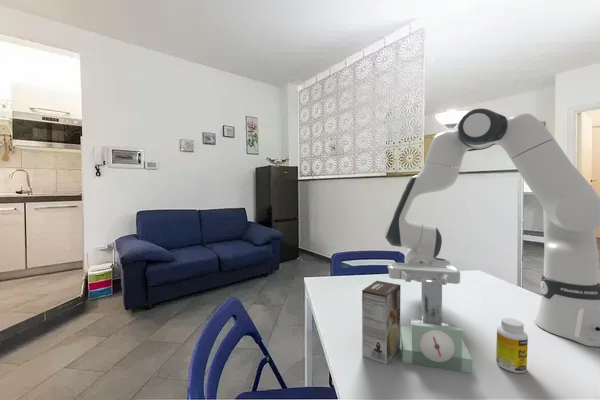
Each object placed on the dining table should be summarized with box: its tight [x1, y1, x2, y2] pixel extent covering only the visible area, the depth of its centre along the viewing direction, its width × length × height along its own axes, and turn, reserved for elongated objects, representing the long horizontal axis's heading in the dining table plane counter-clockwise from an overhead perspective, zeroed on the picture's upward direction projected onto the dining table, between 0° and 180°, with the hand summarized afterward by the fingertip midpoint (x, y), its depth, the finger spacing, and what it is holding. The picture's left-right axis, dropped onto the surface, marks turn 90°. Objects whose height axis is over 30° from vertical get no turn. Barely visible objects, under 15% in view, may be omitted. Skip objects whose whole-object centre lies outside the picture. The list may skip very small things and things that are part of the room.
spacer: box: [421, 278, 443, 325], centre depth 72 cm, size 5×5×12 cm
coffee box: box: [361, 280, 401, 365], centre depth 71 cm, size 9×6×16 cm
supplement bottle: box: [495, 317, 529, 374], centre depth 65 cm, size 6×6×10 cm
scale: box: [400, 322, 473, 374], centre depth 70 cm, size 14×13×9 cm
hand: (425, 280), depth 83 cm, fingers open, 8 cm apart
